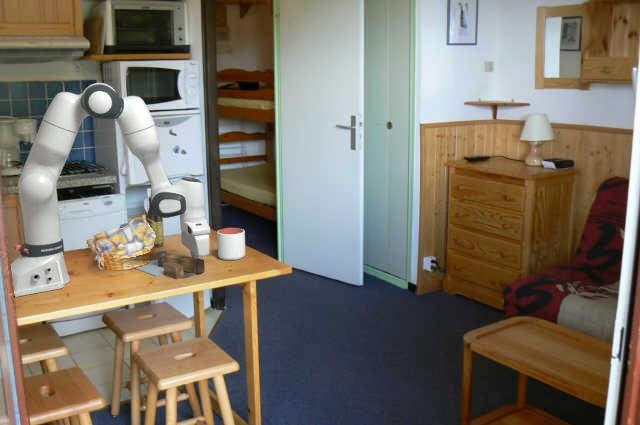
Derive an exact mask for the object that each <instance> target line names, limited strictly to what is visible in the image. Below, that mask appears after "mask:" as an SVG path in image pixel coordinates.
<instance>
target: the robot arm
mask: <svg viewBox="0 0 640 425" xmlns="http://www.w3.org/2000/svg"><path fill="white" fill-rule="evenodd" d="M87 117H92V118H94V119H98V120H115V121H116V124H118V127H119V129H120V133H121V135H122V137H123V140H124V142H125V144H126V146H127V147H128V149H129V151H130V152H131V154H132V155H133V156H134V157H136V158H137V159H138V160H139V161H140V162H141V164H142V166H143V168H144V171H145V173H146V176H147V179H148V181H149V184H150V189H151V190H150V196H151V206H152V210H153V212H154V213H155V214H156V215H157V216H159V217H162V218H163V219H168V218H174V217H177V216H179V221H180V233H181V234H180V235H181V237H180V239H181V244H182V245H183V246H184V247H185V248H186V249H188V250H189V252H190V257H192V258H197V259H200V258H203V257H208V256H209V254H210V235H209V234H210V233H211V226H210V225H209V224H208V220H207V213H206V209H205V206H206V194H205V187H204V184H203V182H202V181H201V180H200V179H198V178H195V177H190V176H189V177H187V176H186V177H185V176H184V177H180V179H178V180H177V181H175V182H174V183H172V182H171V181H170V179H169V177H168V174H167V172H166V169H165V167H164V164H163V162H162V158H161V153H160V152H161V151H160V150H161V149H160V148H161V143H160V138H159V137H160V136H159V134H158V129H157V125H156V123H155V120H154V119H153V116H152V113H151V112H150V110H149V108H148V106H147V104H146V103H145V101H144V99H142V98H141V97H140V96H138V95H128V96H124V97H122V96H120V95H119V93H117V92H116V90H115V89H114V88H113V87H112V86H110V85H108V84H107V83H103V82H96V83H92V84H90V85H89V86H87V87H86V88H85V89H84V90H82V91H81V92H80V93H79V94H76V93H73V92H70V91H61V92H58V93H57V94H56V95H55V96H54V97H53V99H52V101H51V103H50V104H49V106H48V108H47V109H46V112H45V113H44V115H43V118H42V121H41V123H40V125H39V128H38V131H37V133H36V136H35V138H34V140H33V142H32V146H31V148H30V151H29V153H28V156H27V159H26V161H25V164H24V166H23V169H22V171H21V174H20V177H19V178H18V182H17V188H18V195H19V204H20V210H21V216H22V225H23V232H24V243H23V244H19V243H16V244H14V246H13V249H14V250H15V251H17V252H20V254H19V255H18V257H17V258H15V259H14V261H12V263H11V264H9V265H11V271H12V278H13V286H14V294H15V297H22V296H28V295H32V294H38V293H44V292H49V291H53V290H60V289H63V288H65V286H66V284H68V283H69V282H70V281H71V277H70V274H69V273H68V272H69V271H68V269H67V264H66V261H65V257H64V255H65V246H64V239H63V238H62V231H61V230H62V229H61V216H60V210H59V200H58V191H57V184H58V181H59V179H60V175H61V173H62V171H63V169H64V167H65V164H66V161H67V159H68V158H69V155H70V153H71V150H72V147H73V145H74V142H75V140H76V137H77V135H78V133H79V130H80V128H81V125H82V123H83V122H84V120H85V119H86V118H87ZM15 297H14V298H15Z"/></svg>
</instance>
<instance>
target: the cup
mask: <svg viewBox="0 0 640 425" xmlns="http://www.w3.org/2000/svg"><path fill="white" fill-rule="evenodd" d="M216 233H217V234H216V235H217V236H216V237H217V257H218V258H220V259H221V260H223V261H237V260H241V259H243V258H244V257H245V255H246V235H245V234H246V231H245V230H244V228H243V229H242V228H239V227H238V228H237V227H227V228H226V227H225V228H222V229H218V230H217V231H216Z"/></svg>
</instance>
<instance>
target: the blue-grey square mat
mask: <svg viewBox="0 0 640 425" xmlns="http://www.w3.org/2000/svg"><path fill="white" fill-rule="evenodd" d="M149 262H150V263H149V264H147V265H144V266H142V267H138V268H136V269H135V270H137V269H138V270H137V271H140V272H143V273H146V274H149V275H151V276H153V277H160V276H163V275H164V267H162V266H158V259H154V260H151V261H149ZM164 276H165V275H164Z"/></svg>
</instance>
